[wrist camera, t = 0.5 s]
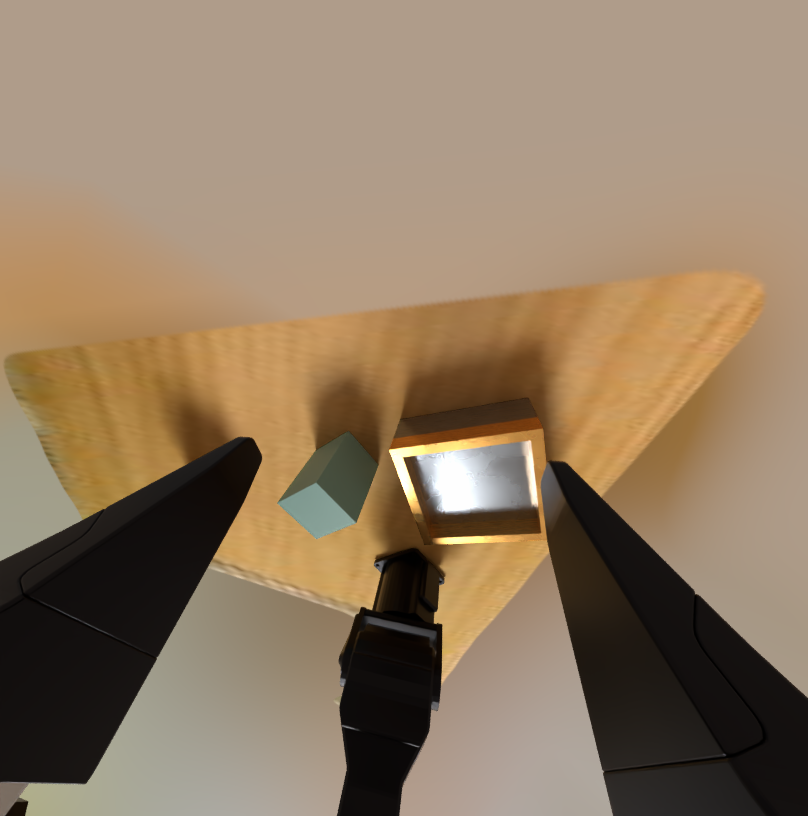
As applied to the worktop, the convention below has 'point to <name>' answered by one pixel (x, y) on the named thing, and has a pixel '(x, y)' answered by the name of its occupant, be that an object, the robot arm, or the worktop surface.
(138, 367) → the worktop surface
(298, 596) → the worktop surface
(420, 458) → the shallow square tray
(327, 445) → the green rectangular block
